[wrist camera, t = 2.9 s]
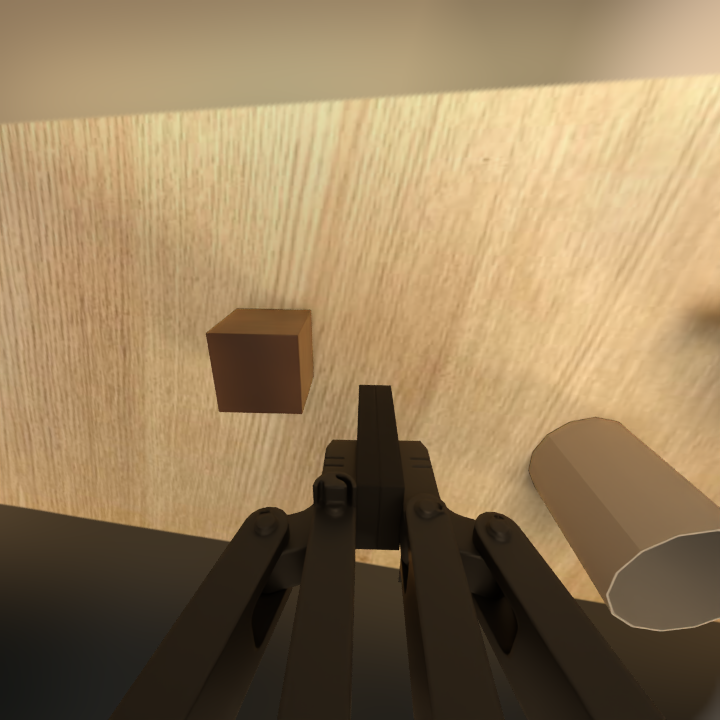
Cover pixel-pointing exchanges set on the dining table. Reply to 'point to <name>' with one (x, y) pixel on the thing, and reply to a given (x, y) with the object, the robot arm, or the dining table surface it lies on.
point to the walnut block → (262, 360)
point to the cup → (632, 524)
